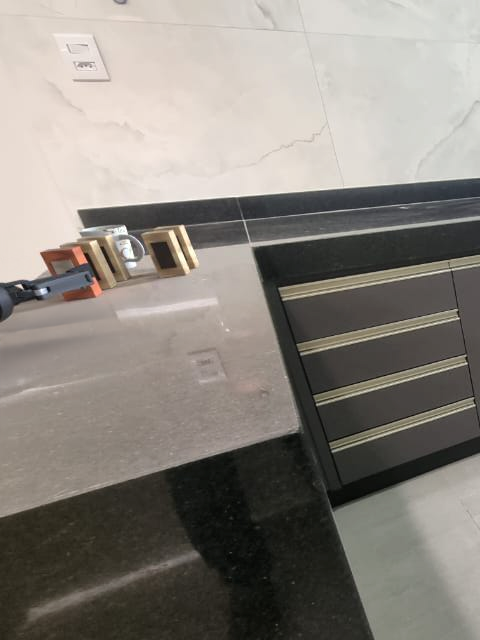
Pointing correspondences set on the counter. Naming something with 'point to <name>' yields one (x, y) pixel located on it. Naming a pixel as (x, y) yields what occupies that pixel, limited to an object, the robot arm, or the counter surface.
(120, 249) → the mug
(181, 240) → the wooden picture frame
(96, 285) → the orange picture frame
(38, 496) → the counter surface
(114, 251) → the tan photo frame
